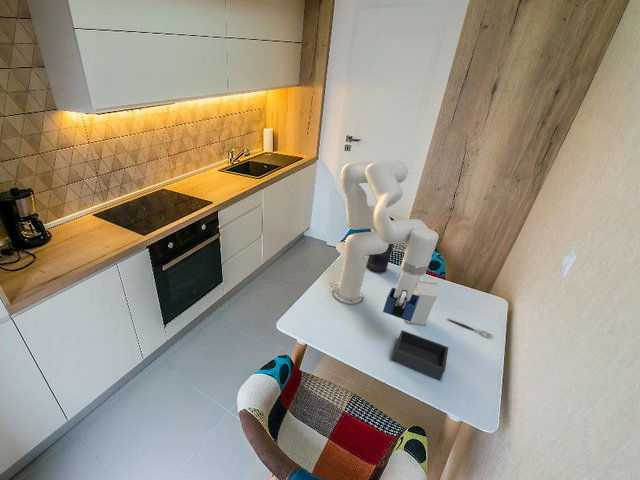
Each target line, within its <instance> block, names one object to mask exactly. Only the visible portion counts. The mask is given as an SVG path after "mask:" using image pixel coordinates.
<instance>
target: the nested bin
mask: <svg viewBox="0 0 640 480" xmlns="http://www.w3.org/2000/svg"><path fill="white" fill-rule="evenodd" d="M395 291H396V287H391V289H390V290H389V292H388V295H387V297H386V300H385V304H384V306H383V310H382V313H385V314H388V315H390V316H392V317H395V318H399V319H400V320H401V319H402V320H404V321H406V320H407V321H410V322H411V319H412V316H413V314H414V311H415V309H416V306H417V303H418V300H419V297H420V296H418V295H414V294H412V296H411V298H410V300H409V301H408V302H406V304H405V310H404V313H403V315H402V317H399V316H396V315H393V314H392V312H393V309H394V306H395V304H396V302H397V299H398V298H395V297H394V294H395ZM400 297H401V296H400ZM405 299H406V297H405ZM399 300H400V299H399ZM404 302H405V301H404ZM404 302H403V304H404Z"/></svg>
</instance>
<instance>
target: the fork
mask: <svg viewBox="0 0 640 480" xmlns="http://www.w3.org/2000/svg"><path fill="white" fill-rule="evenodd" d="M448 321H449V322H452V323H453V324H456V325H458V326H459V327H462V328H464V329H468V330H471V331H474V332H475V333H478V334H480V333H481V332H480V331H479V330H476V329H474V328H472V327H470V326H468V325H465V324H463V323H460V322H457V321H454V320H451V319H448ZM483 337H485V338H491V335H490V333H488V332H487V333H485V332H484V334H483Z"/></svg>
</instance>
